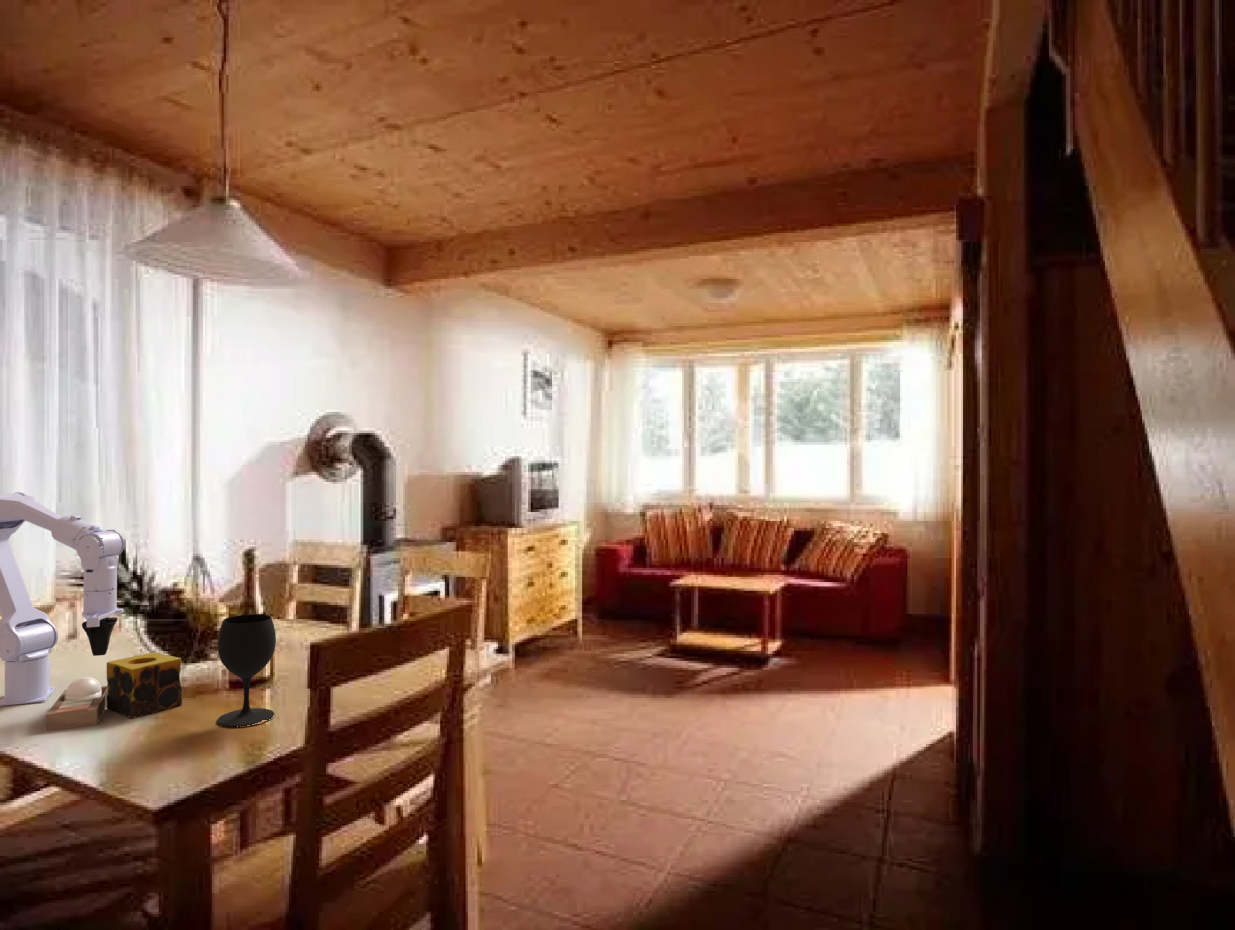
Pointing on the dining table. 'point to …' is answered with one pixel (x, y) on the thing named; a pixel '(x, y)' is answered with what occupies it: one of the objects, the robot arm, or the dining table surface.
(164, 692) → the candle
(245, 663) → the wine glass
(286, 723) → the dining table surface
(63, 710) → the brown shallow box
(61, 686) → the dining table surface
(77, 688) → the dome button
